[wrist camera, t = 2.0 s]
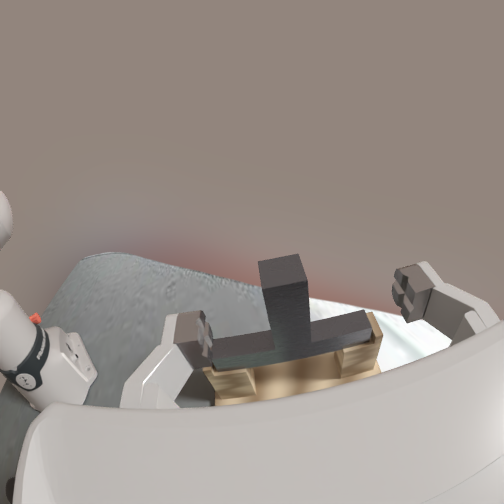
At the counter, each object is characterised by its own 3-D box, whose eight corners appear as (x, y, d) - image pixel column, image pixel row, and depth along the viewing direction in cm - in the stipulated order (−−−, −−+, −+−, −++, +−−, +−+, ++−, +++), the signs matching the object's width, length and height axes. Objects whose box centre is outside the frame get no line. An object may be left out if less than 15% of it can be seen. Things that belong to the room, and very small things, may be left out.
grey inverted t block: (218, 375, 32) (179, 303, 25) (218, 350, 35) (184, 275, 28) (370, 345, 31) (385, 262, 24) (360, 321, 34) (368, 239, 27)
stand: (217, 411, 35) (194, 381, 30) (216, 372, 41) (197, 336, 36) (381, 379, 34) (394, 341, 29) (367, 342, 40) (374, 301, 35)
